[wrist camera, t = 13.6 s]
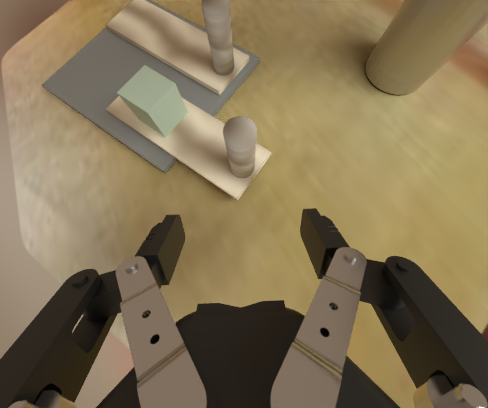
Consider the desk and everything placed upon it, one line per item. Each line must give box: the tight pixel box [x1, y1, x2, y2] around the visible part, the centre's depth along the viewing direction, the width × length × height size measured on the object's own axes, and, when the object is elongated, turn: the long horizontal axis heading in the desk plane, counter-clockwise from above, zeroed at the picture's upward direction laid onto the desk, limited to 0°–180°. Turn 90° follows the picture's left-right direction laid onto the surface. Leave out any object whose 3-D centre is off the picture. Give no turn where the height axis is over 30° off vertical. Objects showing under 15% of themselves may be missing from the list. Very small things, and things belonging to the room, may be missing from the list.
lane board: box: [42, 0, 260, 173], centre depth 31 cm, size 24×26×1 cm
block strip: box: [106, 96, 271, 201], centre depth 24 cm, size 8×24×9 cm, turn 55°
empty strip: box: [106, 0, 249, 95], centre depth 28 cm, size 8×24×9 cm, turn 55°
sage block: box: [117, 65, 188, 138], centre depth 25 cm, size 5×5×5 cm
